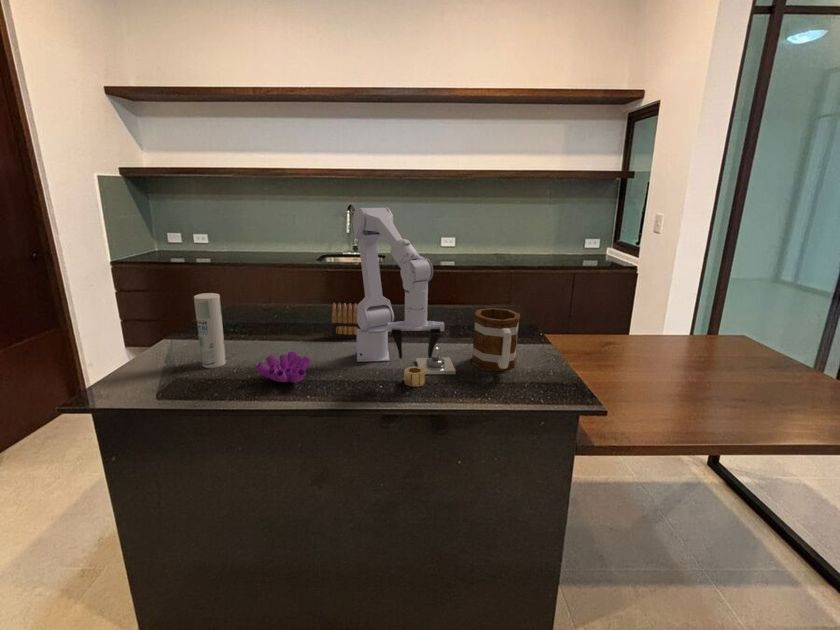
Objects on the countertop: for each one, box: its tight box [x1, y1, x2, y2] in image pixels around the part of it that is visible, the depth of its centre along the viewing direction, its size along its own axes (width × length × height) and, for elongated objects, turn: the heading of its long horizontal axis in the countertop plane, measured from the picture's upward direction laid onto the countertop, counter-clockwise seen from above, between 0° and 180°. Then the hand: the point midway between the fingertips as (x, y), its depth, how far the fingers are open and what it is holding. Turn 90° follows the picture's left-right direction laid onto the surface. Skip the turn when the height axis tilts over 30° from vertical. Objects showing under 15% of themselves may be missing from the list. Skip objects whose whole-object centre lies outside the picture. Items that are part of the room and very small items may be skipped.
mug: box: [471, 307, 521, 372], centre depth 135 cm, size 20×14×15 cm
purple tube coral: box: [254, 351, 312, 383], centre depth 124 cm, size 11×15×10 cm
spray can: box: [193, 292, 227, 369], centre depth 131 cm, size 6×6×20 cm
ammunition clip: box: [331, 302, 361, 339], centre depth 157 cm, size 11×2×12 cm, turn 89°
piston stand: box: [415, 346, 457, 376], centre depth 134 cm, size 10×10×6 cm
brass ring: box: [404, 365, 426, 388], centre depth 124 cm, size 5×5×4 cm
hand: (415, 356), depth 123 cm, fingers open, 7 cm apart
